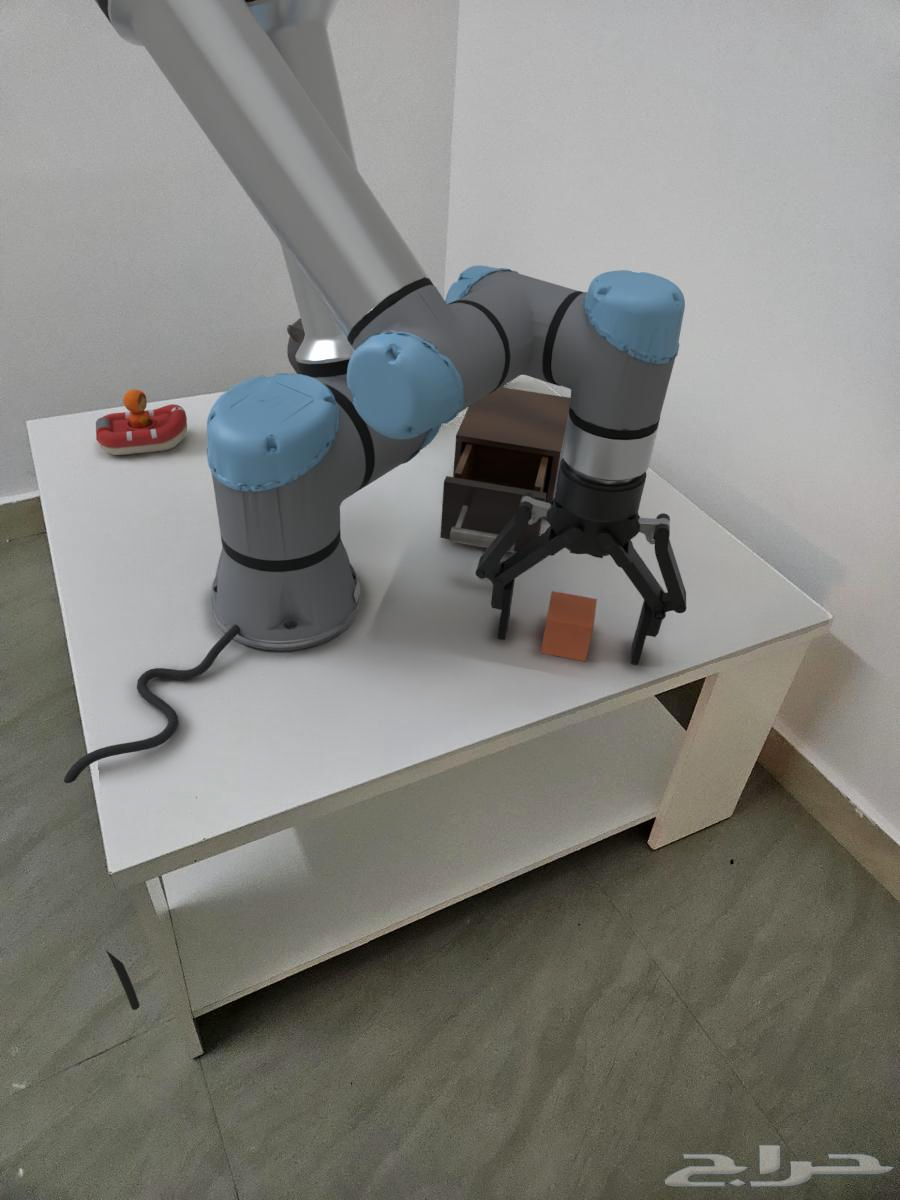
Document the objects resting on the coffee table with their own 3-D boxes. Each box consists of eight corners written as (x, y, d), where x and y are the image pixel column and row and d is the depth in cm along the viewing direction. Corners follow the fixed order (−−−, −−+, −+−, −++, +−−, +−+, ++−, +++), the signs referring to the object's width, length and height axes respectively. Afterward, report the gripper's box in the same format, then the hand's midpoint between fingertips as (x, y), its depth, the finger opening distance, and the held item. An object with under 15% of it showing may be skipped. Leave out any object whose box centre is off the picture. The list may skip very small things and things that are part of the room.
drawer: (528, 588, 90) (537, 530, 85) (427, 569, 91) (430, 511, 86) (549, 494, 105) (558, 440, 100) (462, 479, 106) (467, 425, 101)
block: (585, 661, 83) (593, 627, 80) (540, 653, 83) (546, 619, 80) (589, 632, 86) (596, 598, 83) (545, 624, 87) (552, 590, 84)
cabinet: (549, 519, 102) (560, 451, 96) (451, 502, 103) (456, 434, 97) (562, 462, 113) (573, 398, 107) (472, 447, 114) (478, 383, 108)
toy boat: (192, 451, 109) (184, 399, 104) (100, 462, 105) (86, 408, 101) (186, 425, 114) (178, 374, 109) (98, 434, 111) (85, 381, 106)
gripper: (748, 464, 72) (690, 640, 86) (471, 422, 75) (457, 599, 89) (754, 509, 66) (691, 691, 80) (454, 462, 70) (442, 644, 83)
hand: (568, 643), depth 84 cm, fingers open, 13 cm apart
